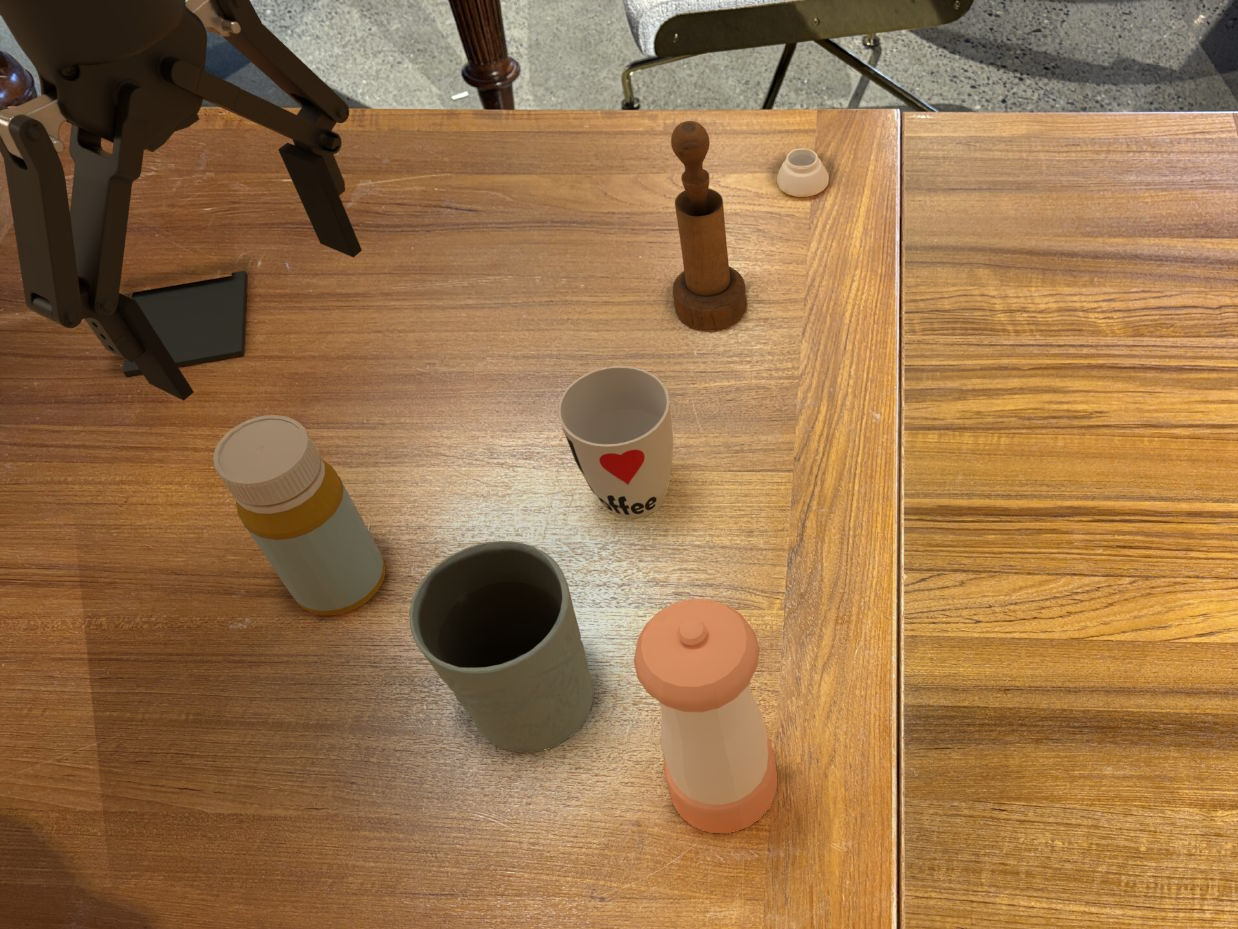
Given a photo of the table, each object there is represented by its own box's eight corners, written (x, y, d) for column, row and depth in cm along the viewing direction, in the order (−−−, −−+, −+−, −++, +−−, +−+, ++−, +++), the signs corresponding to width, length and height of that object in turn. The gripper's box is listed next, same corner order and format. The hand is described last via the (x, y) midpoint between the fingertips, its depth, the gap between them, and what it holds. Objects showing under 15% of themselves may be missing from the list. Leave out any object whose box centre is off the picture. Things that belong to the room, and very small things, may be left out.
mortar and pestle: (761, 312, 107) (746, 132, 92) (699, 342, 105) (673, 162, 90) (722, 272, 110) (702, 91, 95) (661, 300, 108) (630, 120, 93)
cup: (566, 518, 94) (538, 430, 86) (611, 445, 98) (588, 355, 90) (659, 545, 92) (640, 458, 84) (701, 470, 97) (687, 380, 88)
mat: (126, 376, 104) (122, 371, 103) (136, 294, 110) (132, 289, 110) (244, 355, 105) (241, 350, 105) (247, 275, 111) (244, 270, 111)
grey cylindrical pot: (561, 781, 81) (520, 691, 71) (432, 737, 83) (375, 643, 73) (626, 662, 86) (596, 562, 77) (503, 623, 89) (458, 522, 79)
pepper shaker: (686, 729, 83) (646, 564, 67) (788, 747, 82) (771, 584, 66) (657, 823, 79) (606, 672, 63) (763, 843, 78) (739, 695, 63)
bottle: (303, 633, 88) (213, 503, 76) (288, 563, 92) (199, 429, 80) (397, 601, 90) (323, 468, 78) (378, 534, 94) (305, 397, 81)
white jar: (768, 192, 117) (815, 205, 115) (767, 166, 114) (814, 179, 113) (791, 163, 119) (837, 176, 118) (790, 137, 117) (836, 149, 115)
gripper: (-139, 111, 45) (140, 481, 63) (324, -162, 57) (449, 213, 74) (-260, 58, 47) (42, 429, 65) (211, -195, 59) (358, 177, 77)
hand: (260, 314), depth 70 cm, fingers open, 13 cm apart
